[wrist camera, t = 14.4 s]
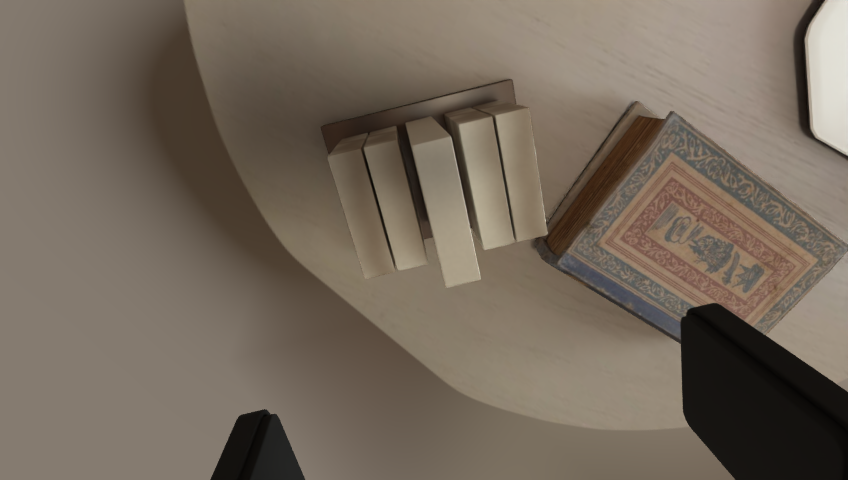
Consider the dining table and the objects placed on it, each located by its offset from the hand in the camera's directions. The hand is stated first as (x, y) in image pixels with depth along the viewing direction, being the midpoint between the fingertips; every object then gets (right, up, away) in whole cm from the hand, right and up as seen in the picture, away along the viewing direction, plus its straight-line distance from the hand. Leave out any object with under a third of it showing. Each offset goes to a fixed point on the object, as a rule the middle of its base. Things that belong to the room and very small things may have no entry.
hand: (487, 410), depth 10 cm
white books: (-1, +11, +34) cm, 36 cm away
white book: (-1, +10, +33) cm, 35 cm away
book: (+25, +4, +39) cm, 46 cm away
